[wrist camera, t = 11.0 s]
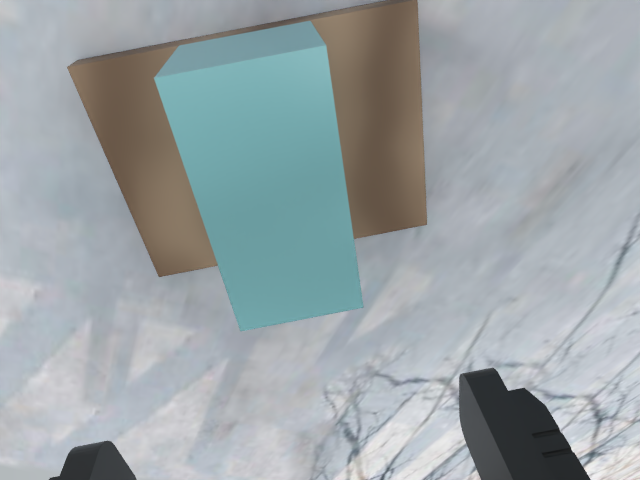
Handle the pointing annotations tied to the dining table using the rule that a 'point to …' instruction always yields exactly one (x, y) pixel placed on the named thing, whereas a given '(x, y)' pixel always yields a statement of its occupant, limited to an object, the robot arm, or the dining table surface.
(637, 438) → the dining table surface
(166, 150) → the base plate
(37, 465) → the dining table surface
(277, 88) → the teal rectangular block
